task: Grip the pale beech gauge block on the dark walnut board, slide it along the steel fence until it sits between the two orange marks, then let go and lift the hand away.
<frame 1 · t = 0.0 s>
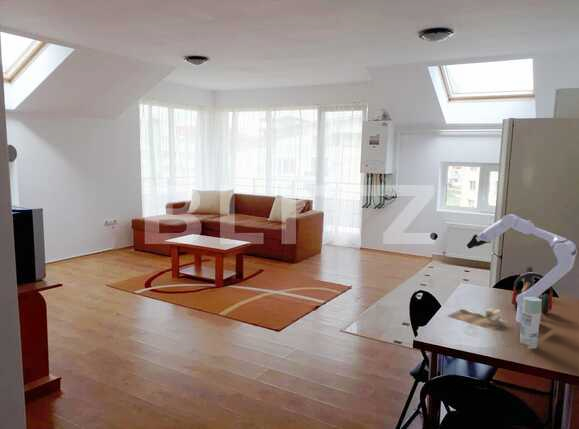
hand: (471, 245, 223), 32 cm above the table, tool tilted 50°, fingers open, 7 cm apart
gauge block: (492, 323, 204), point 1 cm above the table, touching walnut board
walnut board: (476, 321, 209), on the table
spray paint can: (527, 346, 183), on the table
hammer: (523, 299, 245), on the table
headphones: (530, 311, 225), on the table
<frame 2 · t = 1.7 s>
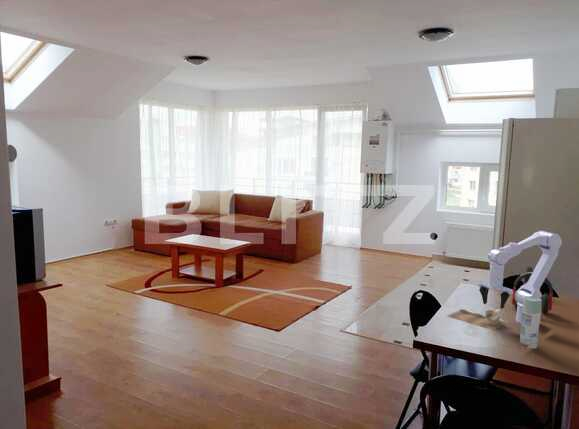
hand: (493, 305, 203), 10 cm above the table, tool pointing down, fingers open, 7 cm apart
nothing on the table moved.
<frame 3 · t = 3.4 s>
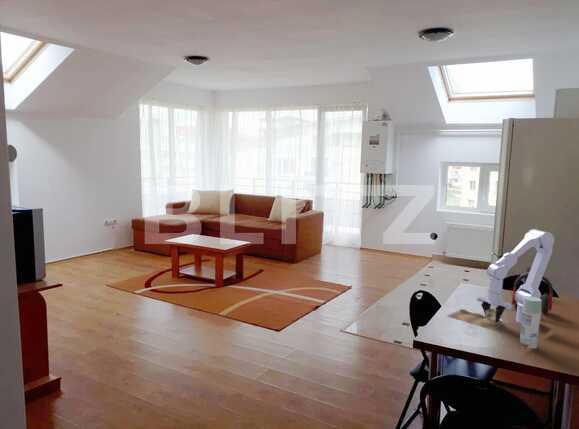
hand: (492, 320, 204), 3 cm above the table, tool pointing down, fingers closed on gauge block, 4 cm apart
gauge block: (492, 323, 204), point 1 cm above the table, touching gripper, walnut board
everything else where it was.
when the fingers open (3 cm above the table, at t = 7.5 s): gauge block stays where it is, resting on walnut board.
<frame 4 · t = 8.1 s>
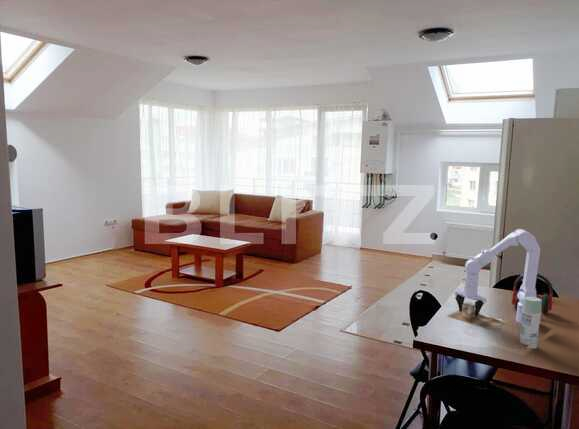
hand: (468, 313, 212), 3 cm above the table, tool pointing down, fingers open, 7 cm apart
gauge block: (468, 316, 212), point 1 cm above the table, touching walnut board
everything else where it was.
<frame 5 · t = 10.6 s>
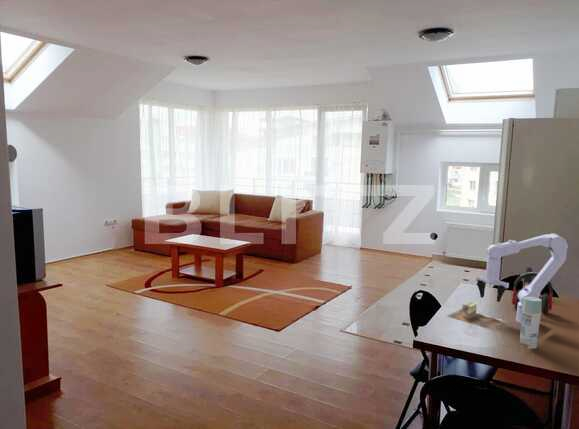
hand: (490, 299, 210), 10 cm above the table, tool pointing down, fingers open, 7 cm apart
nothing on the table moved.
at the end: gauge block 0.4 cm from the target spot, point 1.5 cm above the table; gauge block tilted 0°; the gripper is holding nothing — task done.
